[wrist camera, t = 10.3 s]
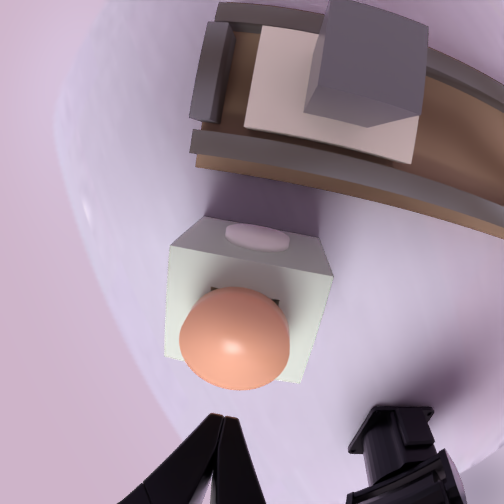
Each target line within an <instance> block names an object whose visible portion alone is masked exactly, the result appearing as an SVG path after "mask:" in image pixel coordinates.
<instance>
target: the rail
mask: <svg viewBox="0 0 504 504" xmlns="http://www.w3.org/2000/svg"><path fill="white" fill-rule="evenodd" d="M324 16H325V15H324V14H319V13H314V12H309V11H303V10H297V9H291V8H284V7H277V6H269V5H260V4H249V3H235V2H227V3H225V2H219V4H218V8H217V12H216V16H215V20H214V21H215V22H208V24H207V28H206V33H205V37H204V41H203V46H202V50H201V55H200V60H199V65H198V70H197V75H196V80H195V85H194V90H193V96H192V101H191V107H190V113H189V118H192V119H195V120H198V121H201V122H202V126H201V130H196V129H193V133H192V139H191V146H190V152H189V153H194V154H197V159H196V166H195V167H198V168H205V169H212V170H218V171H225V172H231V173H237V174H243V175H249V176H255V177H261V178H267V179H272V180H277V181H283V182H288V183H293V184H298V185H303V186H308V187H313V188H318V189H322V190H327V191H332V192H336V193H341V194H345V195H349V196H354V197H358V198H362V199H366V200H370V201H375V202H379V203H383V204H387V205H390V206H394V207H398V208H402V209H406V210H409V211H413V212H417V213H420V214H424V215H428V216H431V217H435V218H438V219H441V220H445V221H448V222H452V223H455V224H458V225H461V226H465V227H468V228H471V229H474V230H477V231H480V232H483V233H486V234H489V235H492V236H495V237H498V238H501V239H504V85H503V84H501V83H499V82H498V81H496V80H494V79H493V78H491V77H489V76H487V75H486V74H484V73H482V72H480V71H478V70H476V69H474V68H473V67H471V66H469V65H467V64H465V63H463V62H461V61H459V60H457V59H455V58H452V57H450V56H448V55H446V54H444V53H442V52H439V51H437V50H435V49H432V48H430V47H428V50H427V65H426V77H425V87H424V96H423V104H422V112H421V115H419V120H418V127H417V133H416V139H415V145H414V151H413V156H412V162H411V164H405V163H398V162H394V161H390V160H387V159H383V158H380V157H376V156H372V155H369V154H365V153H361V152H357V151H353V150H349V149H345V148H341V147H337V146H332V145H328V144H323V143H319V142H314V141H310V140H305V139H300V138H295V137H289V136H284V135H278V134H273V133H267V132H261V131H255V130H248V129H247V128H245V127H244V122H245V117H246V111H247V105H248V100H249V94H250V89H251V83H252V78H253V72H254V67H255V62H256V56H257V51H258V46H259V41H260V36H261V31H262V26H263V25H264V26H272V27H279V28H286V29H292V30H298V31H304V32H309V33H314V34H319V33H320V29H321V26H322V23H323V20H324Z"/></svg>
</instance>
